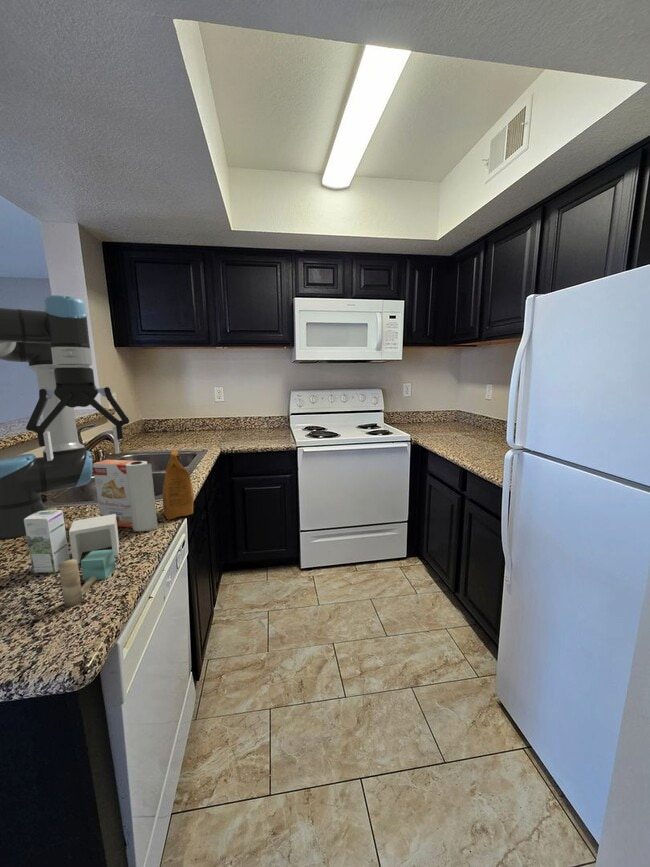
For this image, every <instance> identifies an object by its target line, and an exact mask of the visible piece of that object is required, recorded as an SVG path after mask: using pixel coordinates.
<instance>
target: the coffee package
mask: <svg viewBox="0 0 650 867" xmlns="http://www.w3.org/2000/svg"><path fill="white" fill-rule="evenodd" d="M169 454H170V458H168V459H169V460H168V463H167V465H166V469H165V476H164V480H163V484H162V506H163V508H162V509H163V514H164V516H165V517H166V519H167V520H173V519H176V518H180V517H187V516H189V515H193V514H194V500H195V499H194V496H195V495H194V488H193V484H192V479H191V475H190V473H189V472H188V471H187V469H186V468H185V467H184V466H183V465H182V463H180V461H179V460H181V456H180V455H179V452H178V451H177V450H176V449H172V451H171V453H169Z"/></svg>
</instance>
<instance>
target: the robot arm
mask: <svg viewBox="0 0 650 867" xmlns="http://www.w3.org/2000/svg"><path fill="white" fill-rule="evenodd" d="M44 307H45V308H44V310H43V311H42V310H33V309H32V310H31V309H19V308H16V309H15V308H8V307H7V308H5V307H0V360H1V361H5V362H6V361H8V362H14V363H15V362H16V363H28V366H29V369H30V370H32V371H33V372H35V373H36V380H37V386H38V400H37V403H36V405H35V406H34V409H33V412H31V415H30V418H29V420H28V422H27V424H26V426H25V429H26V430H27V431H31V432H35V433H36V434H37V441H38V445H39V447H45V448H44V449H43V450H42V456H41V457H40V456H39V457H36V455H35V454H34V453H26V454H17V455H13V456H8V457H5V458H1V459H0V539H2V540H3V539H11V538H17V537H23V536H26V530H25V524H24V519H25V518H27V517H28V516H30V515H32V514H34V513H36V512H38V511H49V509H47V507H46V505H45V504H44V502H43V501H42V494H44V493H49V492H55V491H61V490H65V489H71V488H73V489H74V488H78V487H81V486H85V485H87V484H89V483H90V482H91V480H92V477H93V476H92V475H93V457H92V452H91V451H89V450H86V448H85V445H84V444H82V443H80V442H79V441H80V440H79V436H78V430H77V422H76V415H75V409H74V408H76V407H81V408H86V407H89V406H91V407H92V408H94V409H95V410H96V411H97V412H98V413H100V414H101V415H102V416H103V417H104V418H106V419H107V420H108V421H109V422H110V423H112V424H113V425H114V426H113V427H112V434H113V435H112V436H113V443H114V445H113V446H114V453H115V455H118V454H120V446H119V441H120V440H121V441H122V440H123V438H124V435H123V426H125V425H128V424H129V423H130V419H129V418H128V416H127V414H126V413H125V412H124V411H123V409H122V407H121V406H120V404H118V402H117V400H116V399H115V398H114V396H113V393H112V389H111V387H110V386H105V387H101V388H98V387H96V383H95V375H94V369H93V368H92V367H91V366H92V365H93V359H92V358H93V357H92V350H91V346H90V336H89V328H88V326H89V325H88V313H87V311H86V305H85V302H84V301H83V299H80V298H79V297H75V296H71V295H61V294H60V295H57V294H56V295H48V296H46V297H45V298H44ZM98 394H101V396H102V397H106V400H107V401H108V402H109V404H110V405H111V407H112V408H113V409H114V411H115V413H116V414H117V415H118V416H119V418H120V420H119V419H118V418H117V417H115V416H114V415H113V414H112V413H111V412H110V411H108V410H107V409H106V408H105V407H104V406H103V405H101V404H100V403H99V402H98V401H97V400H96V397H97V395H98ZM41 416H42V419H43V421H42V422H41V424H39V425H37V424H38V423H39V420H40V419H41Z"/></svg>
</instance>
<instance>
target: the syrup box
mask: <svg viewBox="0 0 650 867" xmlns="http://www.w3.org/2000/svg"><path fill="white" fill-rule="evenodd" d="M24 524H25V530H26V535H25V536H26V541H27V547H28V551H29V553H28V554H29V558H30V563H31V570H32V573H33V574H50V573H51V574H52V573H58V572H60V571H59V564H60V563H62V562H64V561H67V560H71V557H70V552H69V548H68V547H69V545H68V540H67V532H66V527H65V518H64V512H63V510H62V509H60V510H59V509H55V510H53V509H52V510H48V511H38V512H36V513H34V514H32V515H30V516H28V517H27V518H25V519H24Z"/></svg>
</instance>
